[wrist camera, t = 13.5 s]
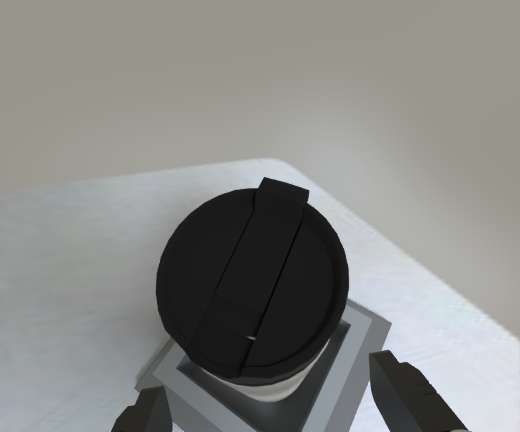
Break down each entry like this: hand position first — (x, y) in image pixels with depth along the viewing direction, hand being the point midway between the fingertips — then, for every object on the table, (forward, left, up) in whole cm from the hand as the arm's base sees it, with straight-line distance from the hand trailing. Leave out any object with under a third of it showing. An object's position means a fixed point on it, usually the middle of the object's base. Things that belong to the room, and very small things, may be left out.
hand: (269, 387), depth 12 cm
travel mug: (-2, +2, -15) cm, 16 cm away
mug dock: (-2, +3, -16) cm, 16 cm away
